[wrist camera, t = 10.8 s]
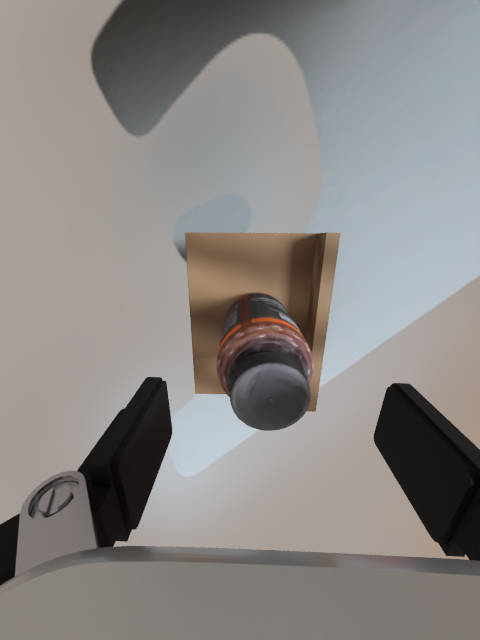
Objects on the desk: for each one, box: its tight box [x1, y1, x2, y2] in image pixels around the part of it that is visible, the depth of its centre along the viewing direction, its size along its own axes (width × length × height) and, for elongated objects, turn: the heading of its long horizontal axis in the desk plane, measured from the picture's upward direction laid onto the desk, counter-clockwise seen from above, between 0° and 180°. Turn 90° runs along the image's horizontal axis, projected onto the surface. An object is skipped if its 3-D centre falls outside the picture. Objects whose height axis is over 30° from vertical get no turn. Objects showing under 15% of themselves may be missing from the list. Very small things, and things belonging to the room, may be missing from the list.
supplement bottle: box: [217, 293, 314, 430], centre depth 17 cm, size 6×6×11 cm
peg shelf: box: [185, 233, 340, 411], centre depth 24 cm, size 16×12×9 cm
